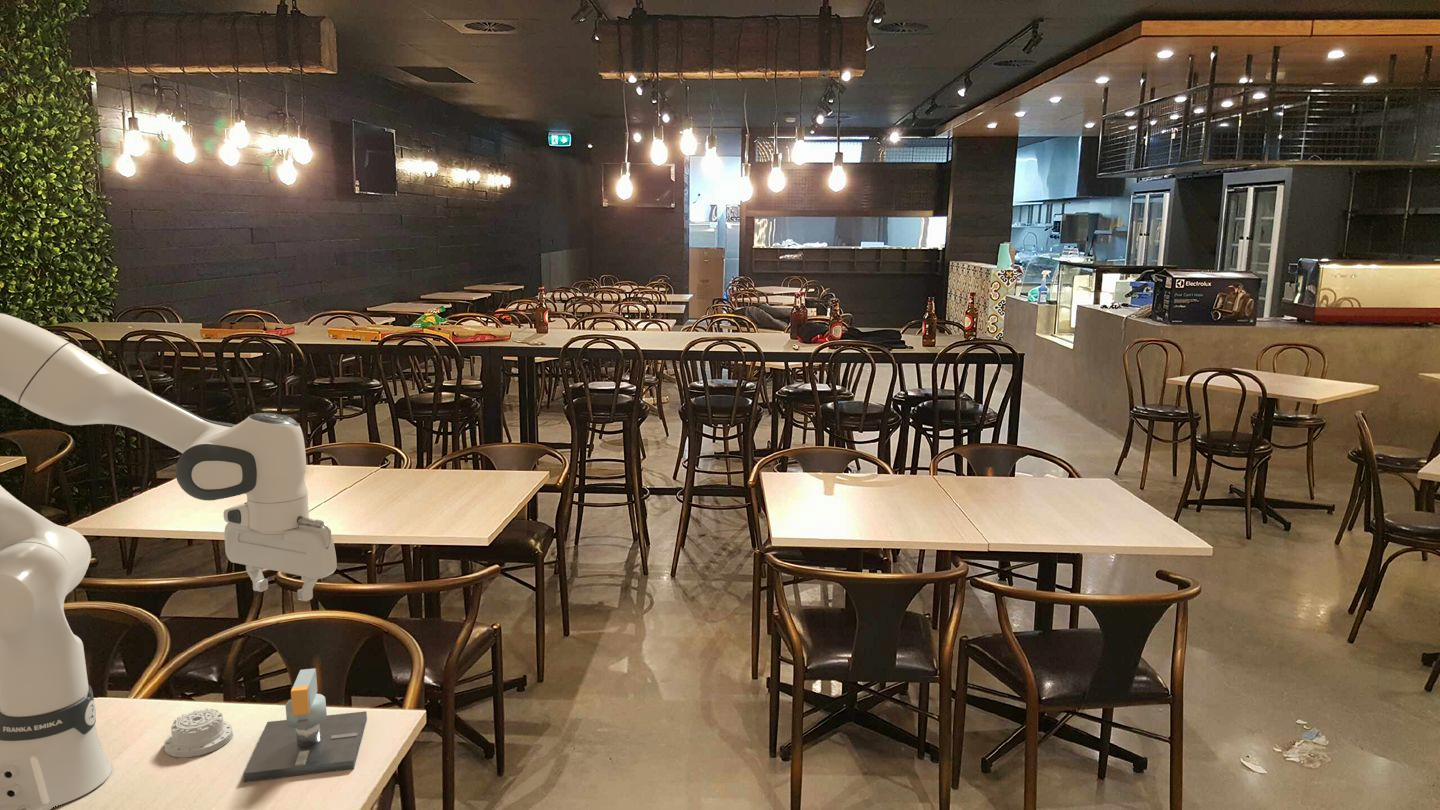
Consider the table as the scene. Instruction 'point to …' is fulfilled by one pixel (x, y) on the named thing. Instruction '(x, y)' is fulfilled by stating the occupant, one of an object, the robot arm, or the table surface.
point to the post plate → (307, 748)
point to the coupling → (305, 702)
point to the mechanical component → (198, 734)
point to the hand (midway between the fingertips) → (282, 594)
